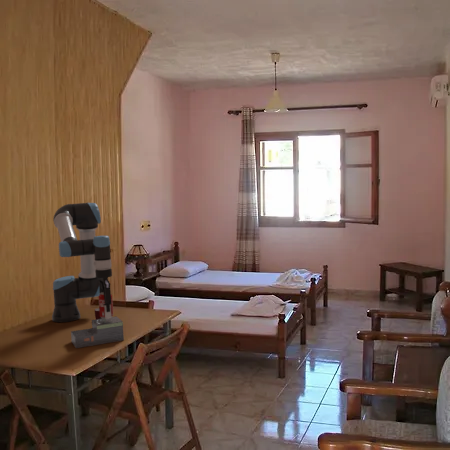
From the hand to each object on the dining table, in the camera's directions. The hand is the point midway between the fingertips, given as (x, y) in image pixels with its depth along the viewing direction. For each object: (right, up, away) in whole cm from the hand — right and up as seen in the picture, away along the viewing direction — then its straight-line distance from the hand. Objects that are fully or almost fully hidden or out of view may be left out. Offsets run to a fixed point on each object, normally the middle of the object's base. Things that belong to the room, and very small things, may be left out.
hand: (106, 316), depth 262 cm
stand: (-4, -13, -1) cm, 13 cm away
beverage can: (0, -1, 0) cm, 1 cm away
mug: (-6, -10, +21) cm, 24 cm away
